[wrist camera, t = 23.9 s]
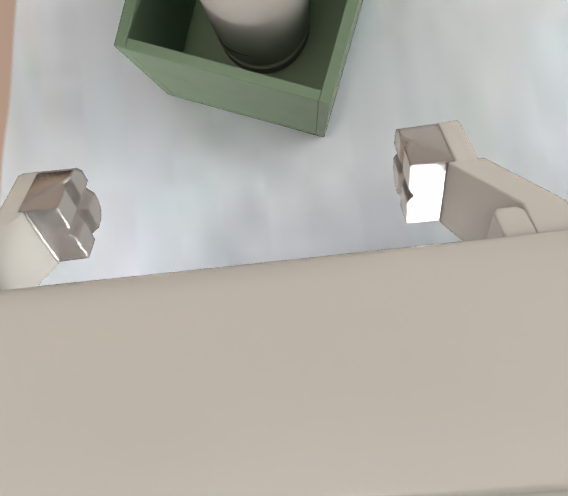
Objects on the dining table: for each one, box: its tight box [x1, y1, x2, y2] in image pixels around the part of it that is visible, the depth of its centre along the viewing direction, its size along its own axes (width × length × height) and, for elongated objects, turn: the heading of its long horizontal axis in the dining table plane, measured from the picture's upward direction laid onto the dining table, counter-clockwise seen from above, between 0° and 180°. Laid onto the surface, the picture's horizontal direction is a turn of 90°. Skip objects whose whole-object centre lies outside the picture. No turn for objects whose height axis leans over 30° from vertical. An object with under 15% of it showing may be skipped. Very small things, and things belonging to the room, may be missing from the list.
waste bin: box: [114, 0, 363, 137], centre depth 30 cm, size 12×12×10 cm
